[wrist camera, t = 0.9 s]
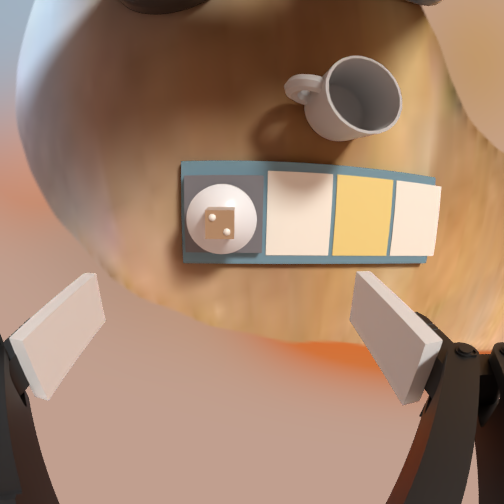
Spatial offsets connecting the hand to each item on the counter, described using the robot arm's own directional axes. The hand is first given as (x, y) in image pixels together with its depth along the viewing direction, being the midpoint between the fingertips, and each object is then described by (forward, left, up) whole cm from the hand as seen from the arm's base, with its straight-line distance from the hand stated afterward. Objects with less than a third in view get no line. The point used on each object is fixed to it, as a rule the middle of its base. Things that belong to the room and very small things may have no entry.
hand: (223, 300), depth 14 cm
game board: (-2, +10, -19) cm, 21 cm away
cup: (-14, +10, -19) cm, 25 cm away
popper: (-2, -1, -16) cm, 16 cm away
